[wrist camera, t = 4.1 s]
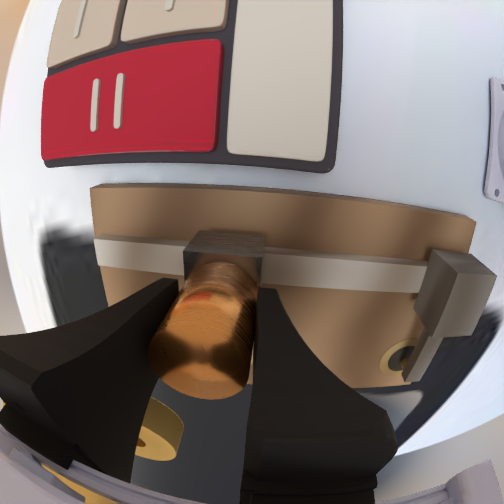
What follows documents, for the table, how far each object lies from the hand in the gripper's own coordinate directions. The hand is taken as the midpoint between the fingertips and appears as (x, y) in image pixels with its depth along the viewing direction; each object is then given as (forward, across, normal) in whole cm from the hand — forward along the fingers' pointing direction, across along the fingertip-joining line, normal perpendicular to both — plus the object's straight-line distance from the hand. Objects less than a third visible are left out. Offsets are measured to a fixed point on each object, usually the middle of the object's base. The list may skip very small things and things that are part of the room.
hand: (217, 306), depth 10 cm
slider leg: (+4, 0, +3) cm, 5 cm away
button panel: (+6, +3, -10) cm, 13 cm away
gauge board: (+5, -3, +3) cm, 7 cm away
